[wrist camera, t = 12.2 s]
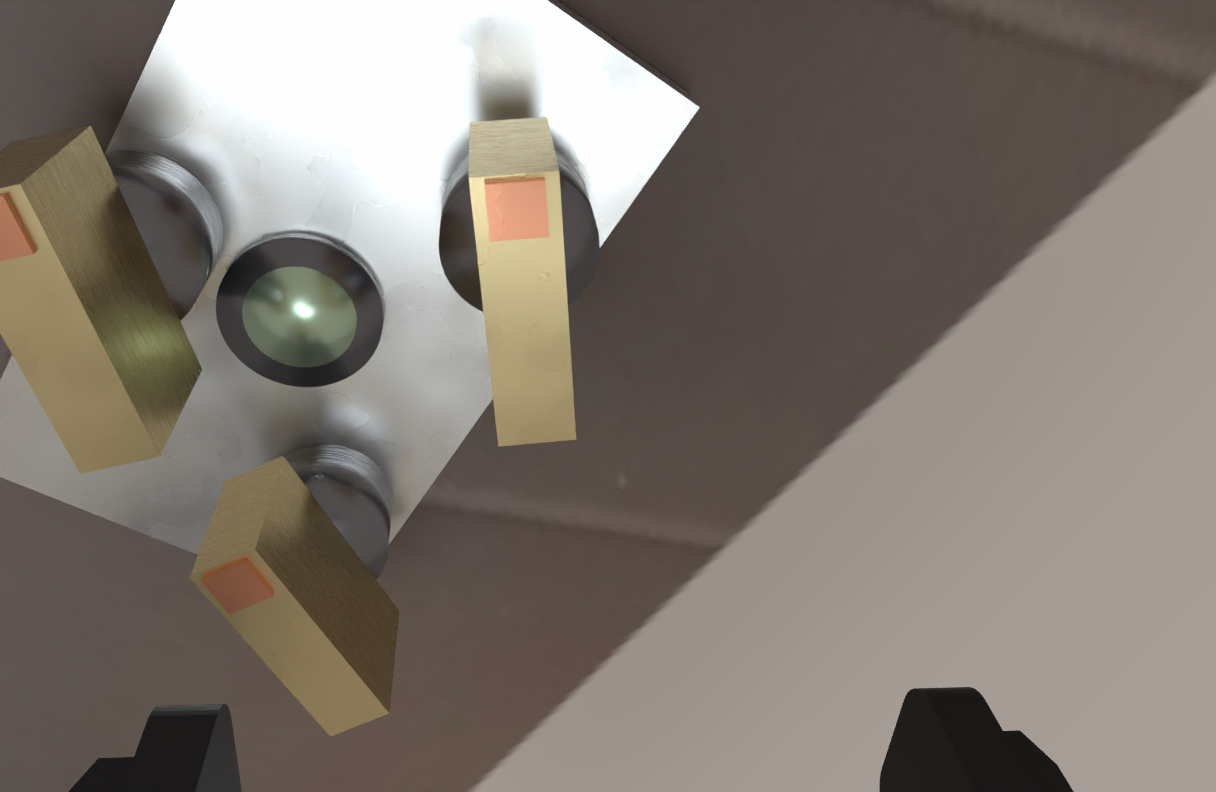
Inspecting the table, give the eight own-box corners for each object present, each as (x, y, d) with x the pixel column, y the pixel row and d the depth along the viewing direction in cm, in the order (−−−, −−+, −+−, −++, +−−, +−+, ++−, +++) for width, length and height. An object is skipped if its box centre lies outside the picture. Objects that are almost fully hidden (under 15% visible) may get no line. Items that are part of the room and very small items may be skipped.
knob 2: (434, 545, 32) (425, 704, 27) (325, 590, 33) (293, 756, 27) (330, 393, 29) (294, 538, 23) (211, 445, 30) (146, 599, 24)
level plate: (346, 582, 35) (338, 626, 33) (-16, 433, 30) (-49, 475, 28) (688, 93, 27) (705, 114, 25) (278, -197, 23) (260, -198, 21)
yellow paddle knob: (262, 317, 28) (206, 451, 22) (121, 347, 28) (28, 489, 22) (168, 87, 24) (73, 175, 19) (8, 122, 24) (-136, 219, 19)
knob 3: (594, 313, 29) (624, 439, 23) (455, 324, 28) (450, 456, 23) (584, 87, 25) (615, 170, 20) (426, 98, 25) (411, 184, 19)
